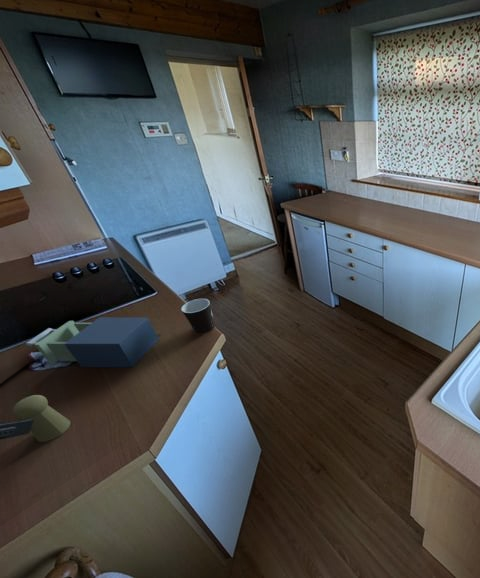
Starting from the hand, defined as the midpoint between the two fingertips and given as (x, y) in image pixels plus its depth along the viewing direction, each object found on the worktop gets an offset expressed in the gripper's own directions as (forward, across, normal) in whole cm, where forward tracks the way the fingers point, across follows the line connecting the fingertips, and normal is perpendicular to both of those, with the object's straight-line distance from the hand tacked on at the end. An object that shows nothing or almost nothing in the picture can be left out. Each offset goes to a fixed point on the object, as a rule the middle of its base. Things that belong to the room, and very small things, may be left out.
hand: (1, 423), depth 62 cm
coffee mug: (+41, +12, +26) cm, 50 cm away
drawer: (+28, -19, +15) cm, 37 cm away
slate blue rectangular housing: (+29, -6, +15) cm, 34 cm away
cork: (+11, 0, -4) cm, 12 cm away
